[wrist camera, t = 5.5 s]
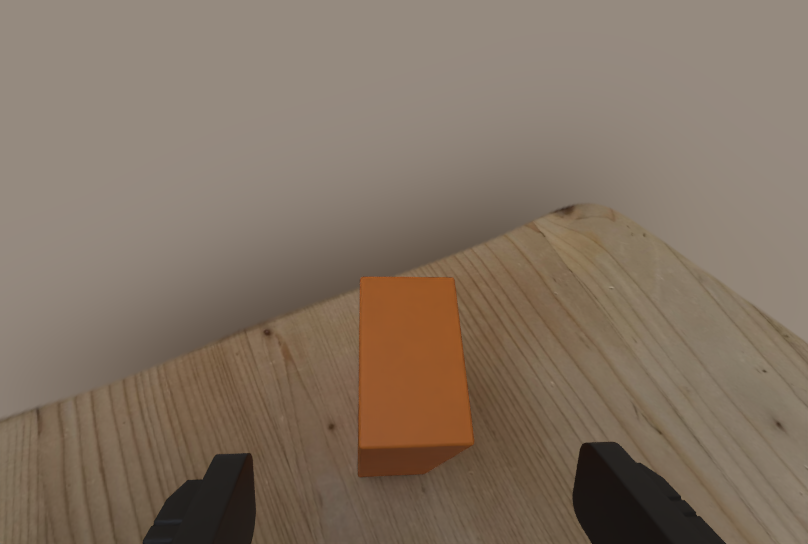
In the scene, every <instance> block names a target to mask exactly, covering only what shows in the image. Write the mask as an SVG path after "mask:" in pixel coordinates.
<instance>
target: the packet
mask: <svg viewBox="0 0 808 544" xmlns="http://www.w3.org/2000/svg"><path fill="white" fill-rule="evenodd" d="M472 445H474V434H473V426H472V417H471V409H470V401H469V393H468V385H467V377H466V369H465V361H464V353H463V344H462V336H461V328H460V320H459V312H458V304H457V296H456V288H455V280H454V278H452V277H362V278H361V279H360V317H359V410H358V476H359V477H372V476H394V475H417V474H425V473H427V472H429V471H430V470H432V469H434V468H435V467H437V466H439V465H440V464H442V463H444V462H445V461H447V460H449V459H450V458H452V457H454V456H455V455H457V454H459V453H460V452H462V451H464V450H465V449H467V448H469V447H470V446H472Z"/></svg>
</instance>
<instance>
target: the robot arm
mask: <svg viewBox="0 0 808 544" xmlns="http://www.w3.org/2000/svg"><path fill="white" fill-rule="evenodd" d="M573 506H574V511H575V514H576V517H577V519H578V521H579V523H580V525H581V527H582V528H583V530H584V531H585V533H586V535H587V536H588V538H589V540H590V541H591V543H592V544H726V543H725V542H724V541H723V540H722V539H721V538H720V537H719V536H718V535H717V534H716V533H715V532H714V531H713V529H712V528H711V527H710V526H709V525H708V524H707V523H706V522H705V521H704V520H703V519H702V518H701V517H700V516H697V515H696V512H695V511H694V510H693V509H692V508H691V507H690V505H689V504H688V503H687V502H686V501H685V500H682V499H681V496H680V495H679V494H678V493H677V492H676V491H675V490H674V489H673V488H672V487H671V486H670V485H669V484H668V483H667V481H666V480H665V479H664V478H662V477H661V476H659V475H658V474H656V473H655V472H653V471H652V470H650V469H649V468H647V467H646V466H644V465H643V464H641V463H636V462H635V461H634V460H633V459H632V458H631V457H630V456H629V454H628V453H627V452H626V451H625V450H624V449H623V448H622V447H621V446H620V445H619V444H618V443H616V442H590V443H584V444H582V446H581V448H580V452H579V458H578V464H577V470H576V476H575V482H574V488H573ZM255 517H256V503H255V488H254V472H253V459H252V455H251V454H250V453H241V454H217V455H215V457H214V458H213V460H212V462H211V464H210V466H209V468H208V470H207V472H206V474H205V476H204V478H203V480H187V481H186V482H185V483H184V484H183V485H182V486H181V487H180V488H179V489H177V490H176V491H175V492H174V493H173V494H172V495H171V496H170V497H169V498H168V499H167V500H166V502H165V503H164V505H163V507H162V509H161V510H160V512H159V514H158V515H157V517H156V519H155V521H154V525H153V526H151V528H150V529H149V531H148V533H147V534H146V536H145V538H144V540H143V544H251V541H252V537H253V532H254V526H255Z"/></svg>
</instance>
